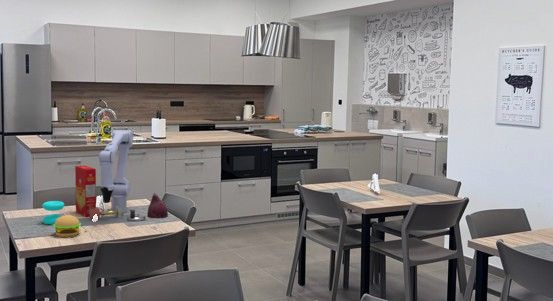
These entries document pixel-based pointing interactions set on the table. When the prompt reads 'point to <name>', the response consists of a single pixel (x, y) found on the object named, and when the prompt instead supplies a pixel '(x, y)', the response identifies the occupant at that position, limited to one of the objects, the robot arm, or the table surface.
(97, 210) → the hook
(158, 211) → the vegetable
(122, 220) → the board
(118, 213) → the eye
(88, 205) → the food packaging
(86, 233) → the table surface
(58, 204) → the cyan stacked discs
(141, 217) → the handwheel
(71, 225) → the hamburger
